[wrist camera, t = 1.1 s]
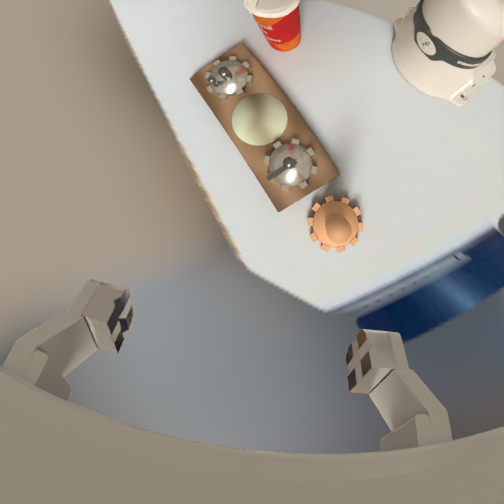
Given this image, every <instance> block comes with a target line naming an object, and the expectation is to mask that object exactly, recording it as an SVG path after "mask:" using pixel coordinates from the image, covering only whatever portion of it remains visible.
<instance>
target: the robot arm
mask: <svg viewBox="0 0 504 504" xmlns="http://www.w3.org/2000/svg"><path fill="white" fill-rule="evenodd" d="M394 30H395V38H394V40H393V44H392V55H393V59H394V62H395V64H396V66H397V68H398V70H399V71H400V73H401V74H402V75H403V77H404V78H405V79H406V80H407V81H408V82H409V83H410V84H411V85H413V86H414V87H415V88H417V89H418V90H420V91H422V92H423V93H426V94H428V95H430V96H434V97H438V98H443V99H446V100H447V101H449V102H451V103H452V104H454V105H455V106H458V107H462V106H463V105H464V104H465V103H466V102H467V101H468V100H469V99H470V98H471V97H472V96H473V95H474V94H475V93H476V91H477V90H478V89H479V88H480V87H481V86H482V85H483V84H484V83H485V82H486V81H487V80H488V79H489V78H490V77H491V75H492V74H493V73H494V72H495V71H496V66H495V63H494V60H493V59H494V57H496V53H495V49H494V48H495V47H496V46H497V45H499V44H500V43H502V42H503V40H504V0H421V1H420V2H419V3H418V5H417V7H415V8H414V7H411V8H410V9H409V10H408V12H407V13H406V15H405V17H404V18H402V19H397V20H396V21H395V22H394ZM461 95H462V96H463V98H462V97H461ZM129 297H130V293H129V290H128V289H125V288H122V287H117V286H114V285H111V284H107V283H104V282H100V281H96V280H92V279H90V280H89V281H87V283H86V284H85V286H84V287H83V289H82V290H81V292H80V293H79V295H78V297H77V298H76V300H75V302H74V303H73V305H72V306H71V308H70V310H69V311H68V312H67V311H64V312H62V313H61V314H59V315H57V316H55V317H54V318H52V319H50V320H49V321H47V322H45V323H44V324H42V325H40V326H39V327H37V328H35V329H34V330H32V331H30V332H29V333H27V334H25V335H24V336H22V337H20V338H19V339H17V341H16V343H15V344H14V346H13V348H12V350H11V352H10V353H9V355H8V357H7V359H6V361H5V363H4V364H3V366H2V367H0V504H504V426H503V427H500V428H497V429H494V430H491V431H487V432H484V433H480V434H476V435H473V436H469V437H465V438H461V439H457V440H452V435H451V430H450V424H449V419H448V414H447V410H446V409H445V408H444V407H443V406H442V405H441V403H440V402H439V401H438V400H437V398H436V397H435V396H434V395H433V394H432V392H431V391H430V390H429V389H428V388H427V387H426V385H425V384H424V383H423V382H422V380H421V379H420V378H419V377H418V376H417V375H416V374H415V372H414V371H413V370H409V367H408V363H407V359H406V355H405V351H404V347H403V343H402V339H401V336H400V334H399V333H396V332H385V331H376V330H365V329H362V330H360V331H359V332H358V334H357V340H355V341H353V342H352V343H351V344H350V346H349V347H348V350H347V354H346V366H347V368H348V369H349V370H350V371H351V372H350V374H349V375H348V386H349V392H351V393H370V394H369V395H370V397H371V399H372V400H373V402H374V403H375V405H376V407H377V408H378V410H379V411H380V413H381V415H382V416H383V418H384V420H385V421H386V423H387V424H388V426H389V428H390V429H391V431H392V432H391V433H389V434H387V435H386V436H384V437H383V438H382V439H381V452H370V453H352V454H296V453H279V452H278V453H277V452H267V451H256V450H247V449H239V448H232V447H225V446H219V445H213V444H207V443H202V442H197V441H192V440H187V439H183V438H178V437H174V436H170V435H165V434H162V433H158V432H154V431H151V430H147V429H144V428H140V427H137V426H133V425H130V424H127V423H124V422H121V421H118V420H115V419H112V418H109V417H106V416H103V415H101V414H98V413H95V412H93V411H90V410H87V409H85V408H82V407H80V406H77V405H75V404H73V403H70V402H68V398H69V396H70V393H71V388H70V386H69V385H68V383H67V382H66V381H65V379H64V378H63V377H64V376H65V375H67V374H68V373H69V372H70V371H72V370H73V369H74V368H75V367H76V366H77V365H79V364H80V363H81V362H82V361H84V360H85V359H86V358H87V357H89V356H90V355H91V354H92V353H93V352H95V351H96V350H97V348H99V349H102V350H106V351H109V352H113V353H117V354H118V353H119V350H120V348H121V346H122V343H123V341H124V337H123V332H125V331H126V330H128V329H129V327H130V324H131V321H132V317H133V308H132V304H131V303H130V302H129V301H128V300H129Z"/></svg>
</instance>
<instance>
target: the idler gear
mask: <svg viewBox="0 0 504 504" xmlns="http://www.w3.org/2000/svg"><path fill="white" fill-rule="evenodd" d="M325 199H326V203H324V204H323V205H321V206H320V205H319V204H318V203H316V204H315V205H314V206H313V208H312V209H313V210H314V211H315V215H314V217H308V224H307V226H313V231H314V232H313V233H311V234H310V237H311V238H312V240H313V242H315V241H316V240H319V241H320V242H321V243H322V246H321V249H323V250H326V251H329V248H330V247H336V248H337V252H343V251H345V247H344V246H345V245H347V244H348V243H351V244H352V245H353V246H354V245H355V244H356V243H357V242H358V239H357V238H356V237H355V236H356V234H357V231H363V223H362V222H358V218H357V216H358V215H360V214H361V212H360V210H359V209H358V207H357V206H356V207H354V208H353V209H352V208H351V207H350V206H349V205H348V204H349V201H350V200H349V199H347V198H344V197H342V198H341V200H340V201H334V198H333V196H330V197H325Z"/></svg>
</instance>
